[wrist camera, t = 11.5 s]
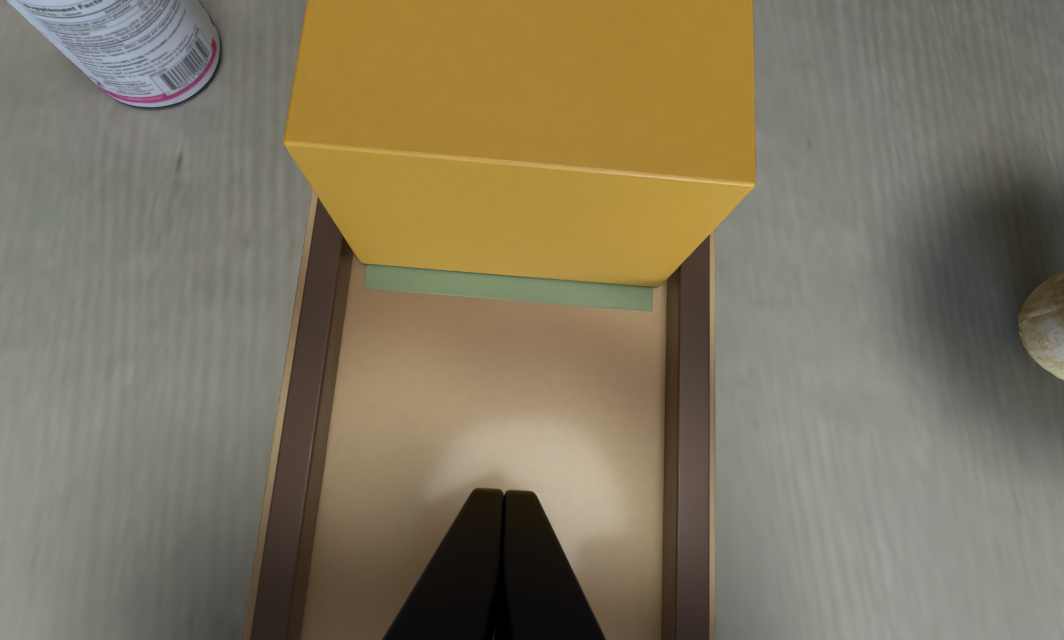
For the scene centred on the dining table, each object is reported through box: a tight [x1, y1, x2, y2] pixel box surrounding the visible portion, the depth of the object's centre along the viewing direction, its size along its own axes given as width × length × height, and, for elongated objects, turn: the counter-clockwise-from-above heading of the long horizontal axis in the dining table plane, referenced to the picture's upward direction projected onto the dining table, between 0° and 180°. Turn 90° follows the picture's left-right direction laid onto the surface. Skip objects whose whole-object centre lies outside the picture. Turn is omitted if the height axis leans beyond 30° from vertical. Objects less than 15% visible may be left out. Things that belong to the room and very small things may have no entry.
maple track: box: [242, 189, 715, 640], centre depth 20 cm, size 22×14×3 cm, turn 176°
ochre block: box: [283, 0, 756, 287], centre depth 18 cm, size 6×10×8 cm, turn 86°
